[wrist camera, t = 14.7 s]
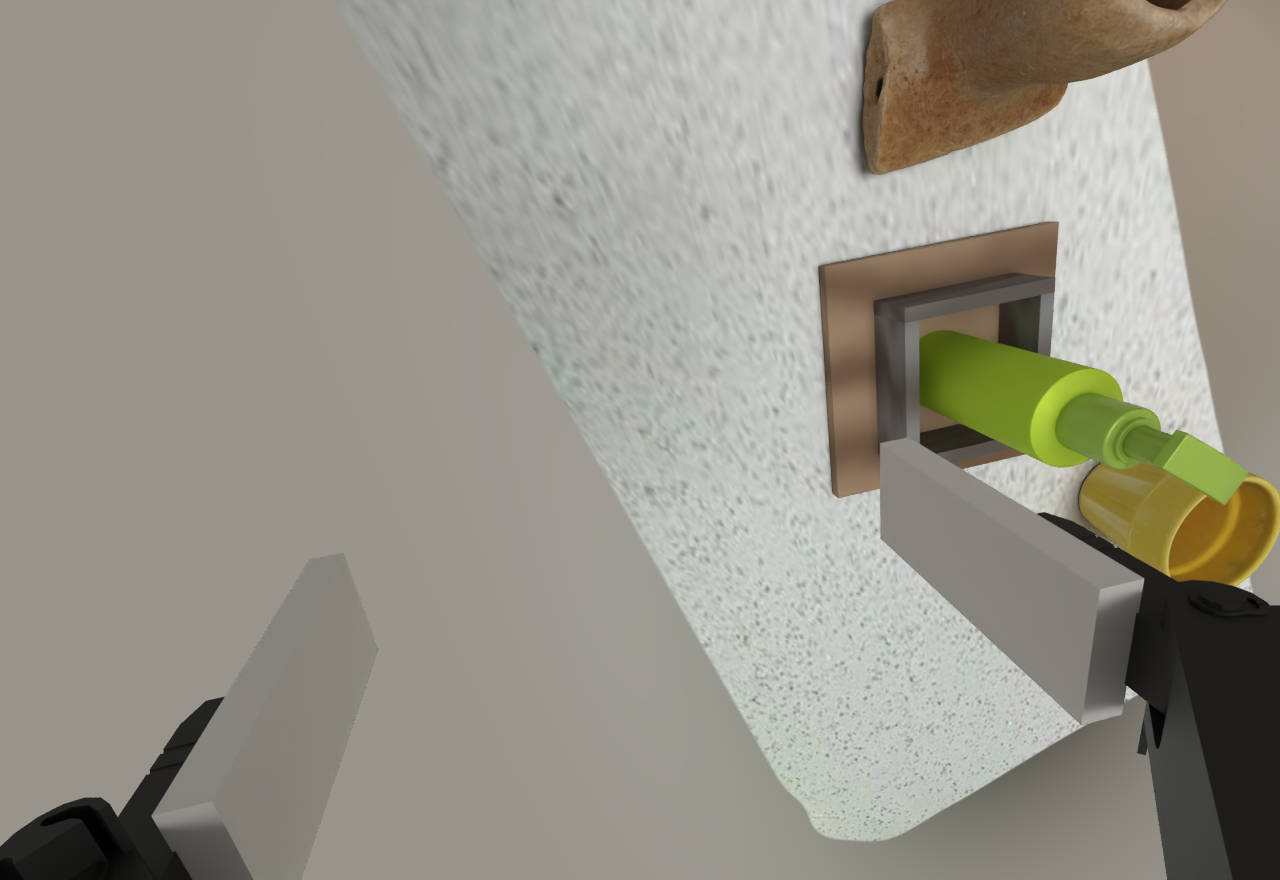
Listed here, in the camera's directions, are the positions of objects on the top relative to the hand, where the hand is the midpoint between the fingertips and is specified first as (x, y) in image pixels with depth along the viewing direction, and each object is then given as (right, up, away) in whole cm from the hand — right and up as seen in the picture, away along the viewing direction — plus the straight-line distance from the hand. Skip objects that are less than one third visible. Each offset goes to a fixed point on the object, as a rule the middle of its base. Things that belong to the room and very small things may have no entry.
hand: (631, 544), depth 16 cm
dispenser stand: (+23, +8, +34) cm, 42 cm away
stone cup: (+21, +28, +27) cm, 44 cm away
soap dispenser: (+23, +8, +33) cm, 41 cm away
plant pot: (+42, -2, +41) cm, 59 cm away
